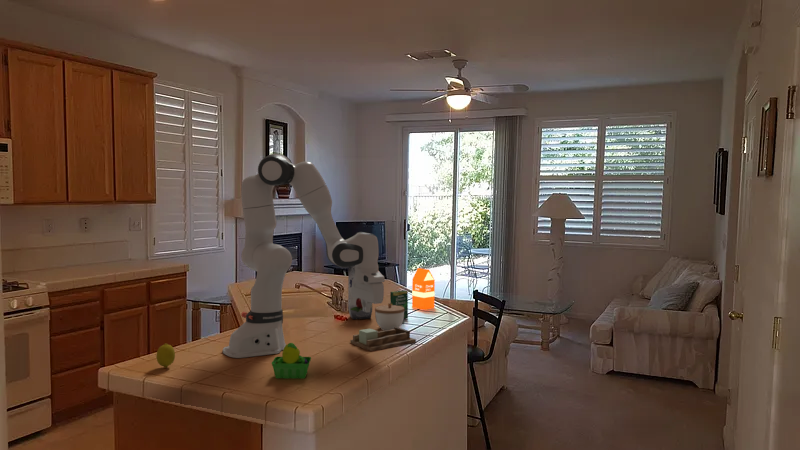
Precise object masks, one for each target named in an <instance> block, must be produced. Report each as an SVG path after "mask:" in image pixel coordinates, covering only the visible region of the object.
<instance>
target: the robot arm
mask: <svg viewBox="0 0 800 450" xmlns="http://www.w3.org/2000/svg"><path fill="white" fill-rule="evenodd" d="M287 184H288V185H289V186H290V185H291V186H292V189H294V191H295V193H296V195H297V198H298V199H299V202H300V203H301V205H302V206H303V208H304V210H305V211H306V212H307V213H308V214H309V215H310V216H311V218H312V219H313V220H314V222H315V223H316V225H317V227H318V229H319V232H320V234H321V235H322V238H323V240H324V242H325V249H326V251H325V252H326V258H327V260H328V261H329V262H330V263H332V264H333V265H335V266H337V267H340V268H349V267H350V266H354V265H355V275H354V278H353V280H352V288H351V293H352V296H354V297H357V298H360V299H361V303H362V306H363V311H364V312H370V307H371V305H372V306H373V304H374V305H375V304H376V305H378V304H382V303H383V301H384V296H385V288H384V287H385V286H384V282H385V275H383V274H382V273H381V272H380V271H379V264H378V261H379V241H378V237H377V236H376V235H375V234H373V233H369V232H364V231H359V232H356V233H355V234H354V235H353V236H351V237H349V238H346V239H344V237H342V235H341V234H340V231H339V229H338V227H337V225H336V223H335V221H334V219H333V218H334V217H333V216H332V206H333V199H332V197H331V193H330V190H329V188H328V186H327V183H326V181H325V180H324V178H323V176H322V174H321V173H320V172H319V170H318V169H317V167H316V166H315V165H314V164H313V162H310V161H300V162H298V163H292V161H291V159H290V158H289V157H288V156H286V155H285V154H281V153H271V154H269V155H267V156H265V157H263V158H262V159H261V160H260V162H259V164H258V166H257V173H256V174H253V175H249V176H247V177H245V178H244V179H243V180H242V182H241V188H240V189H241V190H240V191H241V205H242V207H241V208H242V214H243V219H244V227H245V228H244V229H245V237H244V247H243V249H242V251H241V261H242V263H243V265H244V266H246V267H247V268H249V269H250V270H252V271H253V272H256V277H255V281H254V284H253V286H252V287H251V290H250V310H249V311H248V312H246V311H242V312H241V313H240V314H241V315H240V316H241V317H242V318H243V319H245V322H243V324H241V325H240V326H239V327H238V328H237V329H236V330H234V331H233V332H232V333H231V335H230V338H229V342H228V346H224V347H223V348H222V354H224V355H226V356H227V357H230V358H233V359H243V358H249V357H250V358H251V357H259V356H266V355H267V356H269V355H274V354H276V355H277V354H280V353H281V352H282V351H283V350H284V347H285V346H286V345H287V344H286V342H285V341H286V340H285V335H284V330H283V323H284V314H283V313H284V312H283V311H284V310H283V309H282V308H283V307H282V301H283V299H282V293H283V292H282V291H283V286H284V285H283V284H284V280H285V278H286V274H287V272H288V271H289V269H290V268H291V266H292V263H293V256H292V253H291V252H290V250H288V249H287V248H286V247H284V246H282V245H280V244H276V243H274V242H273V240H274V231H275V229H276V228H277V217H276V212H275V204H274V198H273V189H274V188H275V187H277V186H283V185H287Z"/></svg>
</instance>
